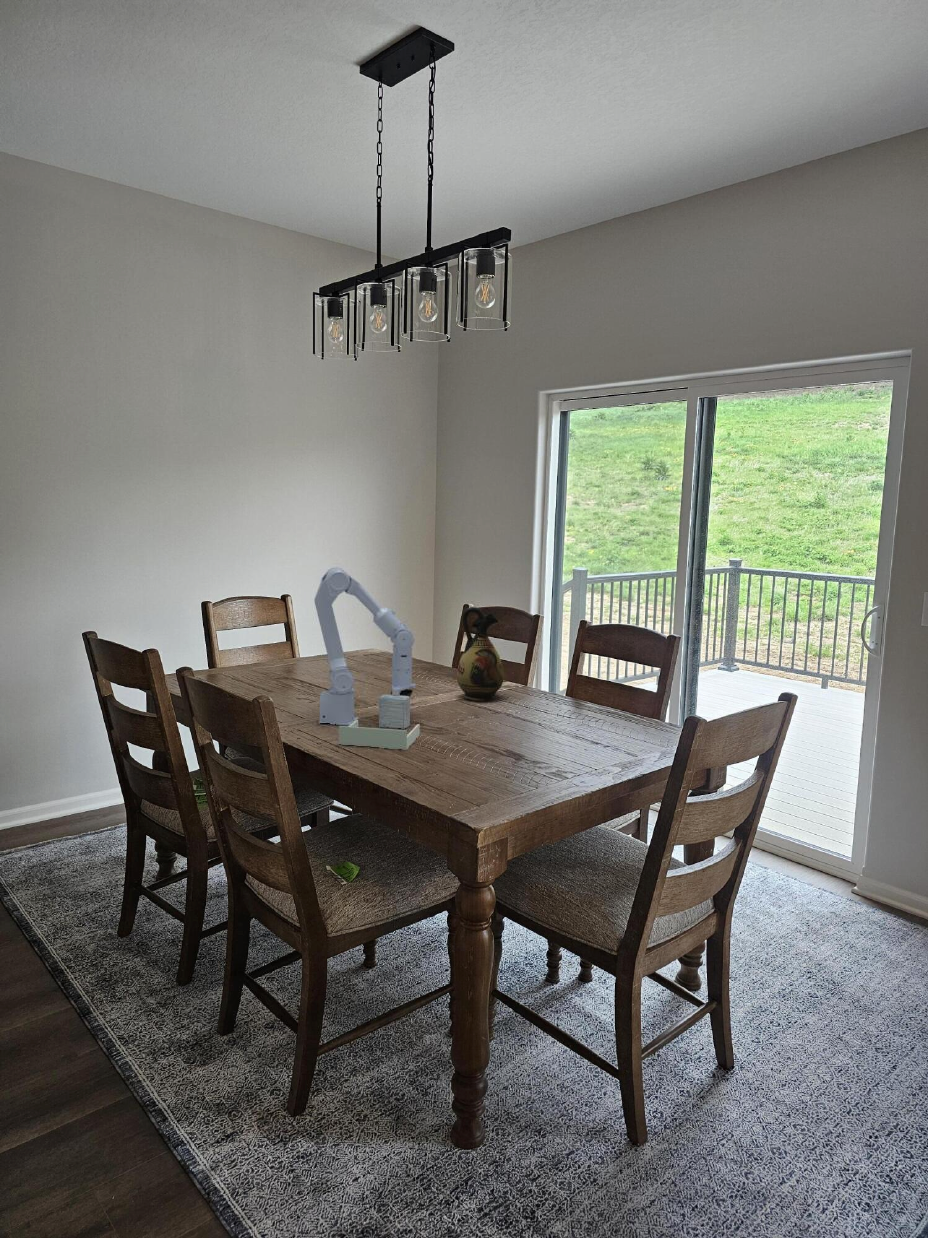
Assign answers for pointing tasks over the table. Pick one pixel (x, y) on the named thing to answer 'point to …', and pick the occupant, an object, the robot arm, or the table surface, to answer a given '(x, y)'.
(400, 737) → the box
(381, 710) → the medicine box
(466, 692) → the ceramic jug
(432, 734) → the table surface
